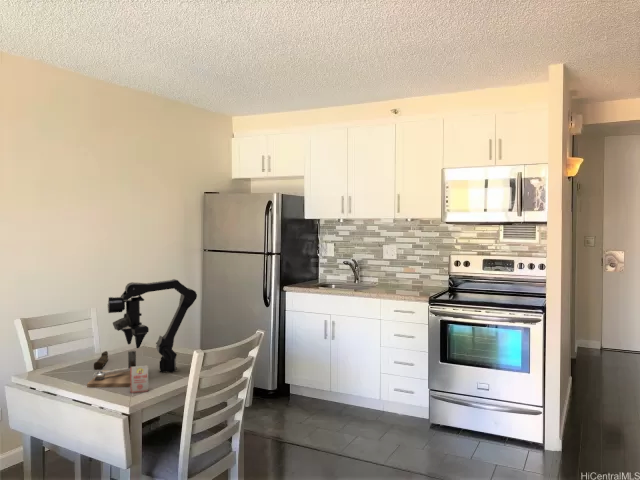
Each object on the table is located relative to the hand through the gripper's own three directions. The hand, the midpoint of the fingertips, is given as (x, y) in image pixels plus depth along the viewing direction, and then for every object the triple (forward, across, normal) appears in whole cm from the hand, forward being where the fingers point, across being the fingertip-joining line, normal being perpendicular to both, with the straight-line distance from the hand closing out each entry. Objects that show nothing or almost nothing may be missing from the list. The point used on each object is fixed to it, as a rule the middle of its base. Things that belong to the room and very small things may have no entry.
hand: (133, 346), depth 238 cm
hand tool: (+13, -27, -4) cm, 30 cm away
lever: (+10, +2, -9) cm, 13 cm away
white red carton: (+13, +22, -7) cm, 27 cm away
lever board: (+13, +3, -8) cm, 15 cm away
